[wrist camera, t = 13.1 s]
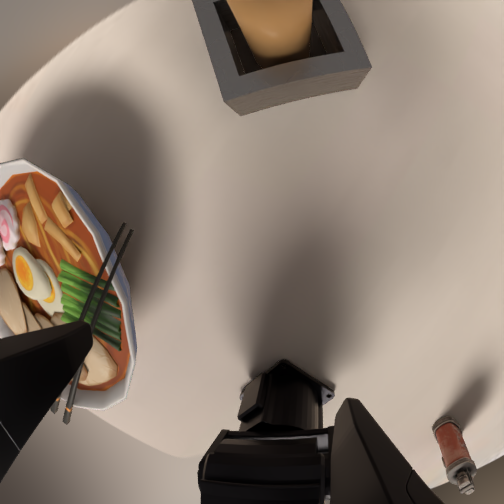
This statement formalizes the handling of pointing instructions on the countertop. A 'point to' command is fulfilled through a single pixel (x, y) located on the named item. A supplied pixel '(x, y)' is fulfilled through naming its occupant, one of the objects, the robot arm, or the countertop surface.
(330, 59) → the grey square open block
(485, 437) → the countertop surface
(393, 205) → the countertop surface
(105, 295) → the ramen bowl
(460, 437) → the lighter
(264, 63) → the plug
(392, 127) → the countertop surface
